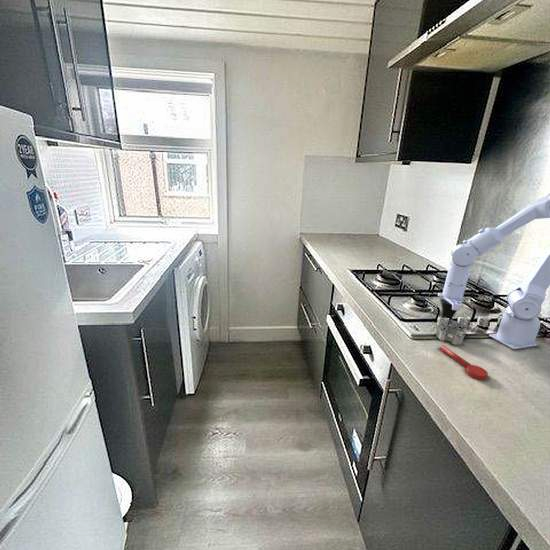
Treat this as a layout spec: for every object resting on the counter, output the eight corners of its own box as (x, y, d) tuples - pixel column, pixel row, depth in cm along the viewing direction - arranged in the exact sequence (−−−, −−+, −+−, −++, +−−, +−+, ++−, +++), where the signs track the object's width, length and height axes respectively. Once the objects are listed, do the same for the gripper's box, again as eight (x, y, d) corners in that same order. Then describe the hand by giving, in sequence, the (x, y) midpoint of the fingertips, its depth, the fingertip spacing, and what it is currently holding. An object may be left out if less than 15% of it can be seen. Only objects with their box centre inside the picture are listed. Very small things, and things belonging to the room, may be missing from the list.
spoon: (446, 347, 86) (447, 343, 86) (491, 378, 73) (492, 373, 73) (433, 349, 85) (434, 345, 84) (476, 381, 72) (478, 376, 72)
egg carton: (460, 347, 86) (463, 335, 85) (432, 337, 91) (435, 325, 90) (467, 334, 94) (471, 322, 93) (441, 325, 99) (444, 314, 97)
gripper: (437, 274, 102) (429, 310, 106) (445, 288, 88) (435, 329, 93) (461, 277, 99) (451, 314, 104) (473, 292, 86) (461, 334, 91)
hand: (445, 321), depth 98 cm, fingers closed
